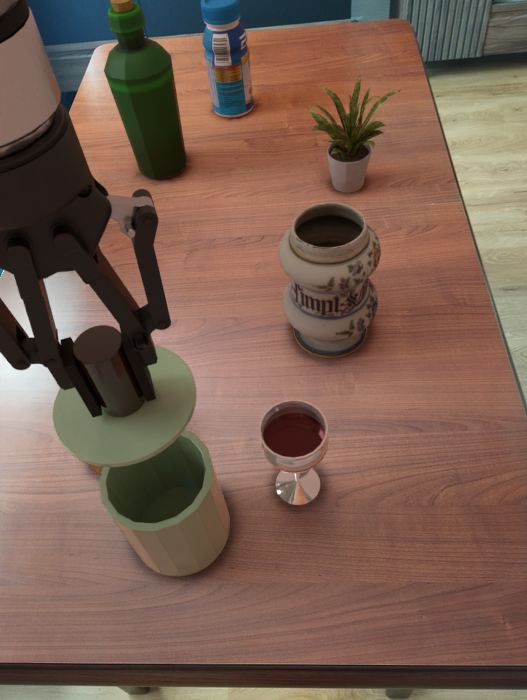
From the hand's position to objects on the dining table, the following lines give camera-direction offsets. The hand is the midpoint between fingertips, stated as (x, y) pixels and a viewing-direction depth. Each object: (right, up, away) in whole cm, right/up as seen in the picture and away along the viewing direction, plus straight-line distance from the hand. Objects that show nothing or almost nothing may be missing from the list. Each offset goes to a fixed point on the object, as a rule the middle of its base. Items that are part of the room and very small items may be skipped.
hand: (122, 394), depth 46 cm
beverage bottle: (+5, +52, +70) cm, 87 cm away
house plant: (+27, +32, +52) cm, 67 cm away
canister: (+3, -16, +17) cm, 23 cm away
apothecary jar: (+20, +6, +32) cm, 38 cm away
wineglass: (+15, -12, +19) cm, 27 cm away
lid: (0, -1, +1) cm, 1 cm away
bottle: (-7, +37, +59) cm, 70 cm away
